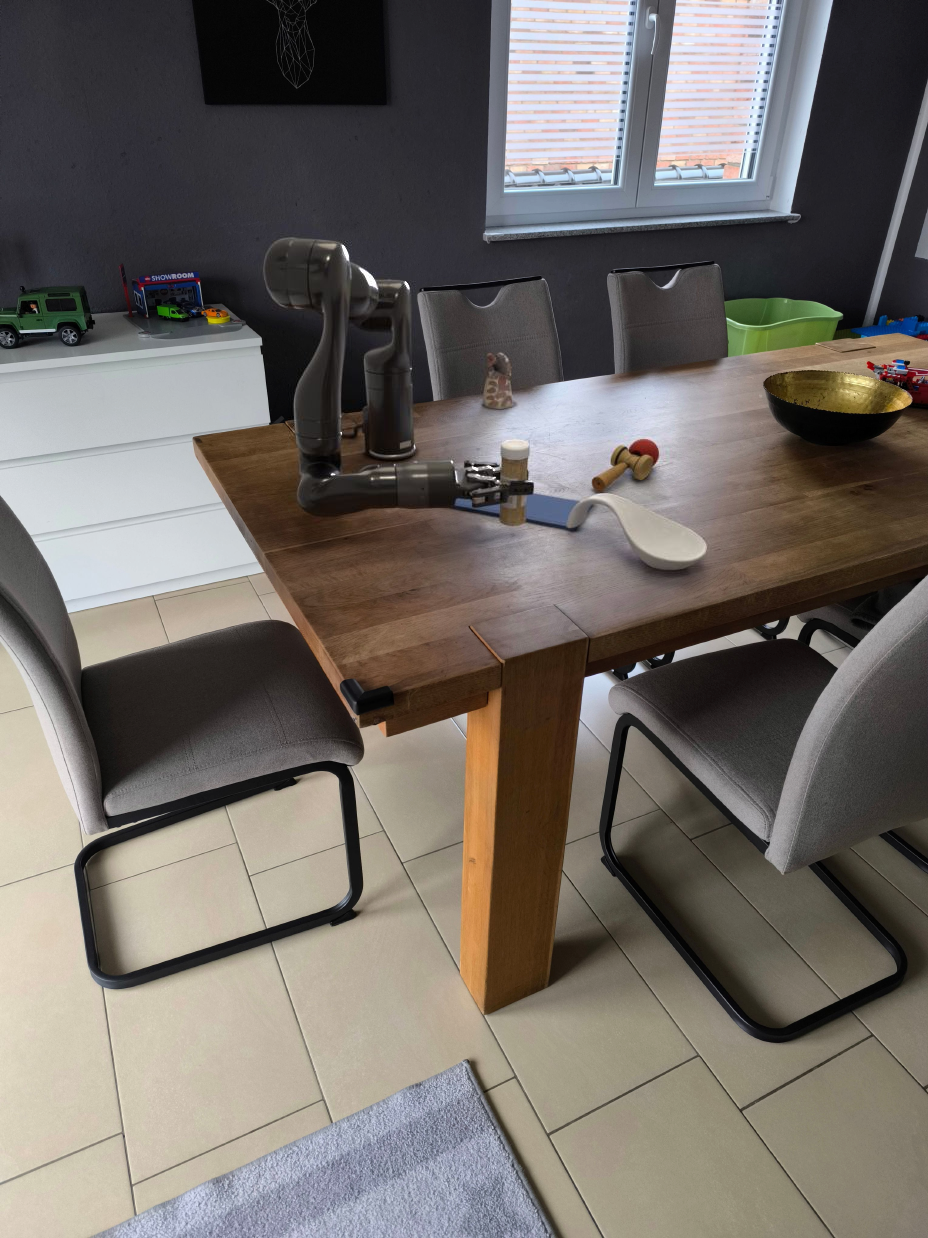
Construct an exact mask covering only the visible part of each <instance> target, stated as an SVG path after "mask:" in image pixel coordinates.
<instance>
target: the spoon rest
mask: <svg viewBox="0 0 928 1238" xmlns="http://www.w3.org/2000/svg"><path fill="white" fill-rule="evenodd" d="M579 501H580V500H579ZM592 504H593V505H603V506H605V507H607V508H609V509H610V510H611V511H612V513H613V514H614V515H615V516H616V518H617V520H618V523H619V525H620V527H621V529H622V531H623V533H624V535H625V537H626V540H627V543H628V544H629V546H630V548H631V550H632V551H633V553H634V554H635V555H636V556H637V557H638V559H640V560H641V561H642V562H643V563H644V564H646V565H647V566H648V567H650V568H653V569H657V570H663V571H676V570H683V569H686V568H688V567H691V566H693V565H695V564H696V563H698V562H700V561H701V560H702V559H703V558H704V557H705V556H706V554H707V552H708V546H707V544H706V542H705V540H704V539H703V538H702V537H701V536H700V535H699V534H697V533H696V532H694V531H693V530H691V529H690V528H688V527H686V526H684V525H683V524H679V523H678V522H676V521H673V520H671V519H669V518H666V517H664V516H662V515H660V514H658V513H657V512H653V511H652V510H650V509H648V508H645V507H644V506H642V505H640V504H637V503H635V502H633V501H631V500H629V499H627V498H624V497H622V496H619V495H616V494H613V493H607V492H606V493H605V492H603V493H602V492H600V493H596V494H593V495H591V496H590V497H588V498H585V499H583V500H581V501H580V502H579V503H578V504H577V505H576V506H575V507H574V508H573V509H572V511H571V513H570V515H569V517H568V520H567V524H566V527H567V528H574V527H576V526H577V527H578V526H580V525H582V524H584V523H585V522H586V520H587V516H588V513H587V512H589V511H588V509H589V507H590V505H592ZM577 527H576V528H577Z"/></svg>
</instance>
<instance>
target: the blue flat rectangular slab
mask: <svg viewBox="0 0 928 1238" xmlns="http://www.w3.org/2000/svg"><path fill="white" fill-rule="evenodd" d="M496 498H498V497H495V498H494V499H496ZM579 502H580V500H573V499H569V498H563V497H562V498H561V497H556V496H551V495H545V494H539V493H533V494H532V495H527V498H526V513H525V517H526V521H525V522H524V523H531V524H537V525H541V526H542V525H543V526H547V527H553V528H559V529H564V530H570V531H576V529H577V527H578V526H576V527H574V528H567V527H566V524H567V520H568V517H569V515H570V513H571V511H572V509H573V508H574V507H575V506H576V505H577V504H578V503H579ZM593 505H594V504H592V505H590V507H589V509H588V512H589V511H590V510H591V509H592V507H593ZM451 509H456V510H462V511H468V512H473V513H478V514H483V515H488V516H494V517H498V518H499V516H500V504H497V505H491V506H485V507H479V508H473V507H472V501H471V500H470V499H469V500H467V499H460V498H458V499H456V504H455V506H454V507H452V508H451ZM588 512H587V514H588Z"/></svg>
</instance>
